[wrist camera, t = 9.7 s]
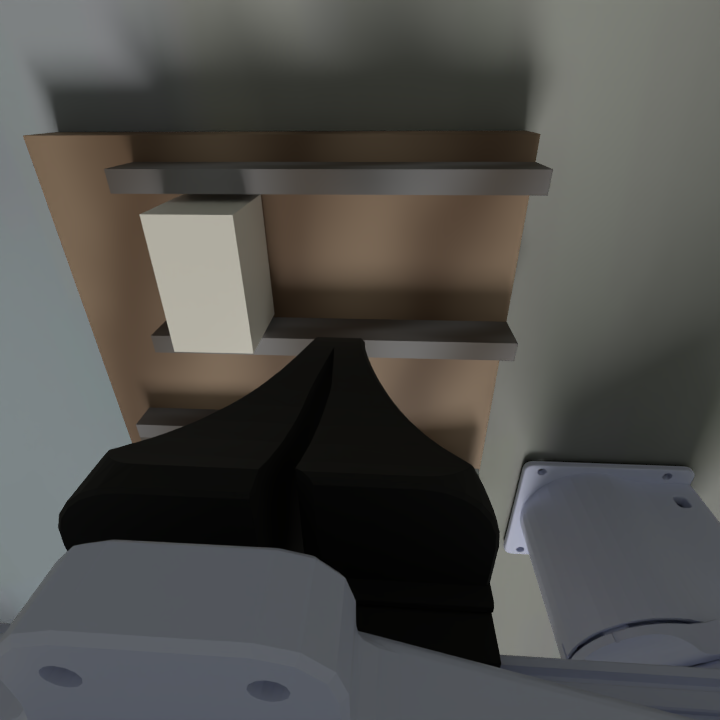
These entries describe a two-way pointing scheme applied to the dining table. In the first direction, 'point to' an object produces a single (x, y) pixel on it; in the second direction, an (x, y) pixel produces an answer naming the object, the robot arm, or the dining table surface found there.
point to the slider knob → (211, 270)
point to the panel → (308, 260)
